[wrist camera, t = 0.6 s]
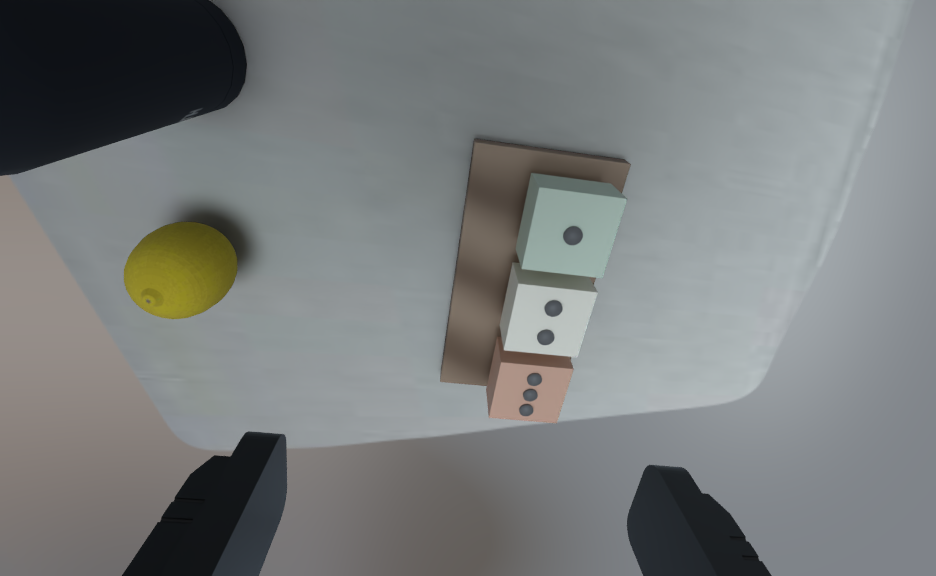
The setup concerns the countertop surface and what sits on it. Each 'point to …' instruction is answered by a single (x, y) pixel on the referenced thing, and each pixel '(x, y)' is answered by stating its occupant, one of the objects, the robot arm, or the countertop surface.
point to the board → (500, 243)
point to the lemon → (180, 270)
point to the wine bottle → (107, 72)
